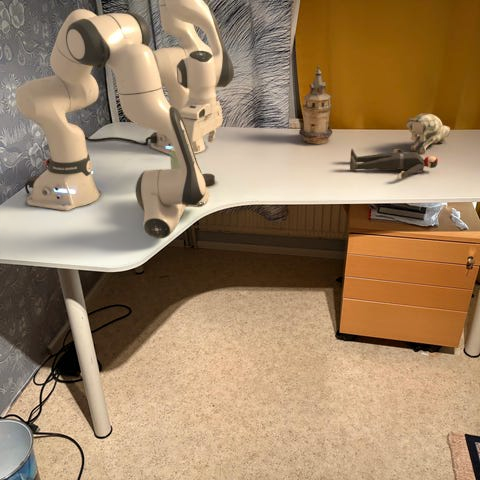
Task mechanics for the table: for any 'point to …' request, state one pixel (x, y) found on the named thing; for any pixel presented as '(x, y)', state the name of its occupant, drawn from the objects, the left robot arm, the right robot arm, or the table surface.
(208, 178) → the lid
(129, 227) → the table surface
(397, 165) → the toy
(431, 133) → the figurine
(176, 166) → the pale green tall cylinder
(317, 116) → the miniature building
